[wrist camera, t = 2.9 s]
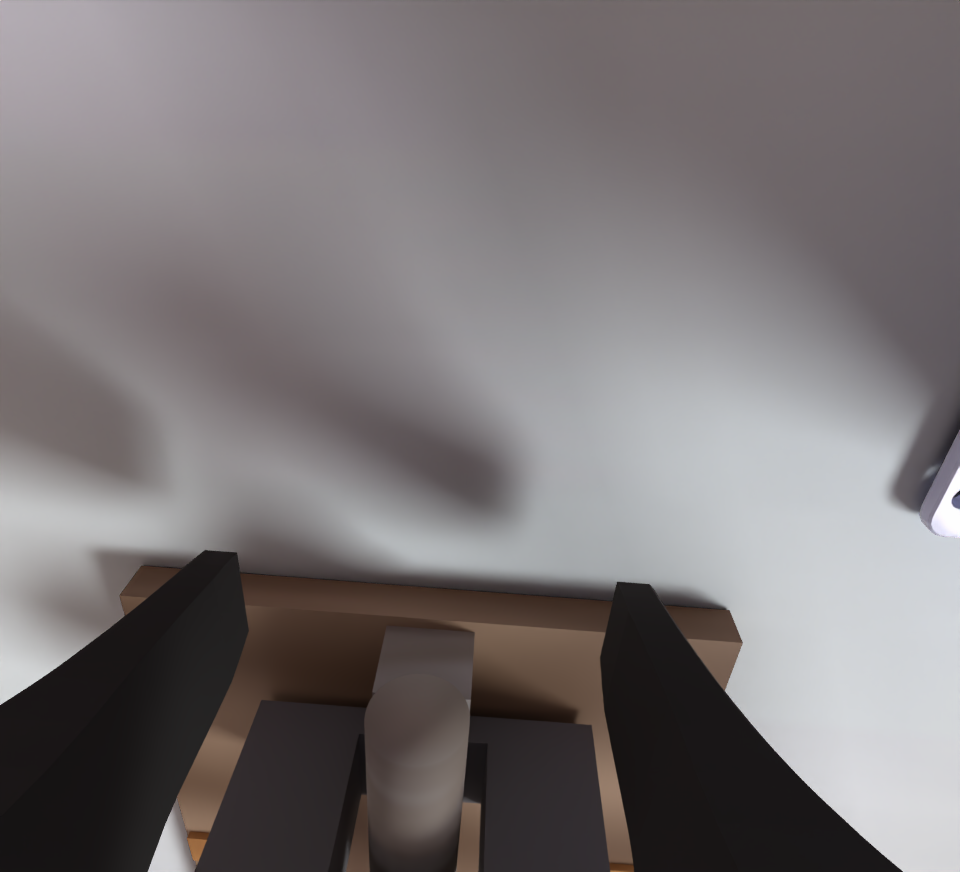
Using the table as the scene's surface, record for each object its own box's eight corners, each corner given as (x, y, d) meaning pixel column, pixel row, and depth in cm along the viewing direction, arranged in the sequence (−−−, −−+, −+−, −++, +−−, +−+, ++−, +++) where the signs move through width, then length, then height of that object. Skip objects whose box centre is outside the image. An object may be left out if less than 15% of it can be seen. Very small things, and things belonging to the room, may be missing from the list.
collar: (261, 699, 16) (173, 924, 12) (591, 725, 16) (621, 957, 12) (270, 760, 17) (195, 983, 13) (577, 784, 17) (599, 1014, 13)
